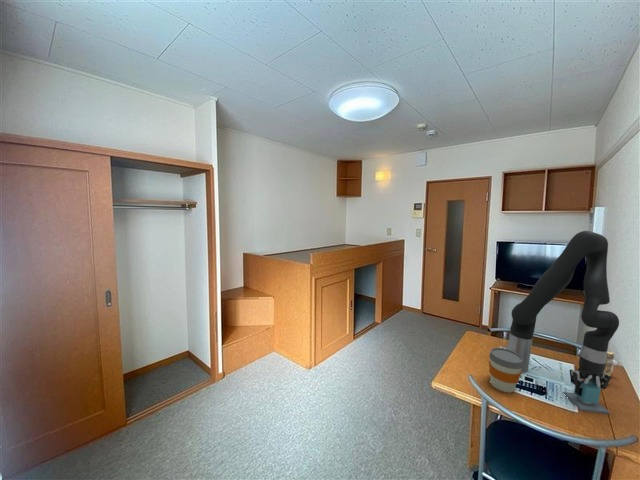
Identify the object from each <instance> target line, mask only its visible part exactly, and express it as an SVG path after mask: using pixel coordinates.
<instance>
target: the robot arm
mask: <svg viewBox="0 0 640 480" xmlns="http://www.w3.org/2000/svg"><path fill="white" fill-rule="evenodd" d="M608 251H609V241H608V239H607V238H606V237H605V236H604V235H602V234H601V233H597V232H594V231H591V230H583V231H582V230H581V231H579V232H577V233H576V234H574V236H573V237H572V238H571V239H570V241H569V242H568V244H567V245H566V246H565V248H564V249H563V250H562V252H561V254H560V255H559V256H558V257H557V258H556V259H555V260H554V262H553V263H552V264H551V265H550V267H549V268H548V269H546V271H545V272H543V274H542V275H541V276H540V277H539V278H538V280H537V281H536V282H535V284H534V286H533V287H532V289H531V290H530V292H529V293H528V294H527V296H526V297H525V298H524V299H523V300H522V301H521V302H520V303H517V304H516V305H515V306H514V307H512V310H511V313H510V314H511V318H512V320H511V321H512V322H511V325H510V329H509V336H508V344H507V345H506V346H505V349H507V350H510V351H513V352H515V353H517V354H519V355H520V356H521V357H522V358H523V367H522V368H521V373H528V371H529V365H530V360H531V359H530V358H531V353H532V344H533V339H534V333H535V328H536V323H537V317H538V315H539V314H540V313H541V310H543V308H545V306H547V304H549V303H550V302H551V301H553V299H555V298H556V297H557V296H558V295H559V294H560V293H561V292H562V291H563V290H564V289H565V288H566V287H567V286H568V285H569V284H570V283H571V281H572V279H573V278H574V277H573V276H574V273H575V270H576V268H577V266H578V265H579V264H580V262H581V261H582V260H583V259H585V261H586V270H585V274H584V278H583V290H584V302H583V307H582V310H581V315H580V318H581V321H582V323H583V324H584V325H585V326H586V327H588V328H592V329H594V330H590V331H589V330H588V331H586V332H584V335H583V341H582V346H581V348H580V351H579V353H580V354H579V359H578V368H577V370H574V369H569V379H570V383H572V384H573V385H574V389H575V392H576V394H578V395H579V396H581V395H582V389H583V385H585V384H587V383H588V382H590V381H591V382H592V383H594V384H595V385H596V386H598V387H599V388H601V390H606V389H607V387H608V385H609V384H610V381H611V380H612V377H611V375H610V376H609V375H607V374H606V373H604V371H605V365H606V360H607V351H609V344H610V343H609V342H610V341H611V339H612V338H613V336H614V335H615V333H616V331H618V328H619V326H620V319H619V317H618V316H617V314H616V313H614V312H613V311H610V310H598V308H599V306H601V305H602V306H604V305H609V303H610V301H611V300H610V290H609V286H608V285H609V284H608V276H607V274H608V273H607V265H608V263H607V262H608ZM599 379H600V380H599ZM580 382H581V384H580ZM602 383H603V384H602ZM608 383H609V384H608ZM575 386H576V388H575Z"/></svg>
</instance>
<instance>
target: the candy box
mask: <svg viewBox="0 0 640 480" xmlns="http://www.w3.org/2000/svg"><path fill="white" fill-rule="evenodd" d="M614 354H615V353H614V352H612V351H609V350H607V360H606V365H605V371H604V373H606V374H607V375H609V376H610V377H611V376H612V375H611V374H612V372H611V369H612V363H613V360H614V359H615V358H614V357H615V355H614ZM599 380H600V379H599ZM609 384H610V382H609V383H608V385H609ZM602 385H603V383H602Z"/></svg>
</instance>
